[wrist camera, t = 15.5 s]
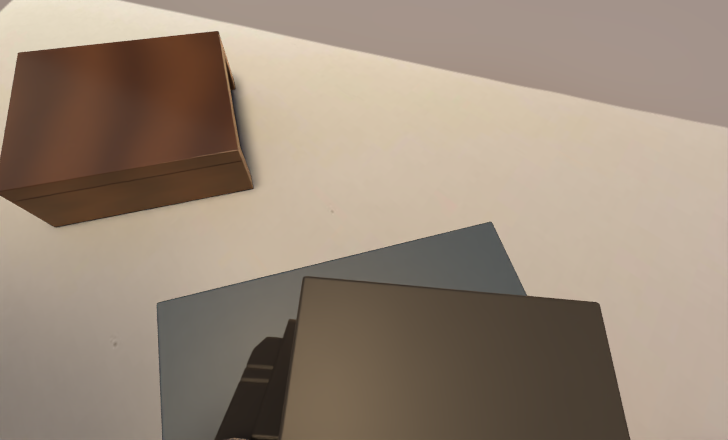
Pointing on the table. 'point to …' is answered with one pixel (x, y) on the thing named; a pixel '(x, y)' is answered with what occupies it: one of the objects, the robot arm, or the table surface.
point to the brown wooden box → (121, 128)
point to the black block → (447, 366)
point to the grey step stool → (280, 303)
